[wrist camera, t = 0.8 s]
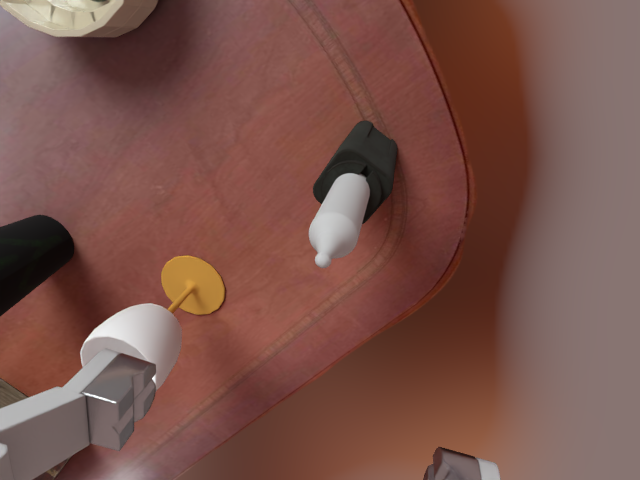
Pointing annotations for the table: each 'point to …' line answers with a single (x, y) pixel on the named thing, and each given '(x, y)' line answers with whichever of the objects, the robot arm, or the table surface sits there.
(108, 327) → the cup
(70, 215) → the table surface
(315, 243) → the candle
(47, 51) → the table surface
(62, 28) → the bowl
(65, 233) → the cup
